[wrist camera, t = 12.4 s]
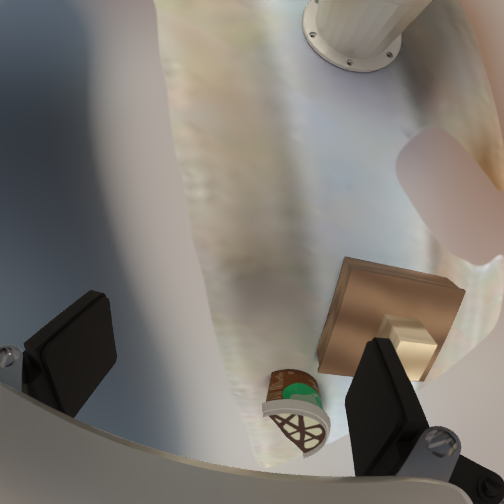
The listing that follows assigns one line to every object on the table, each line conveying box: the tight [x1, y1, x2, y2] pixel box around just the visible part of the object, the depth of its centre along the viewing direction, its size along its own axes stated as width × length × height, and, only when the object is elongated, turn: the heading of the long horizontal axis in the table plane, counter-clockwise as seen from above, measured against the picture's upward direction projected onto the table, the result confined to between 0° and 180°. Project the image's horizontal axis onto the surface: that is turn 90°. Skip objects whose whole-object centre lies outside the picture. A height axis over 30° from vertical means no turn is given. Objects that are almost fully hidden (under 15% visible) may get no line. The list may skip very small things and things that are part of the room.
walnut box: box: [317, 257, 466, 381], centre depth 36 cm, size 14×16×5 cm
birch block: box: [376, 314, 437, 381], centre depth 30 cm, size 5×5×6 cm
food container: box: [262, 369, 330, 458], centre depth 38 cm, size 12×6×10 cm, turn 32°
